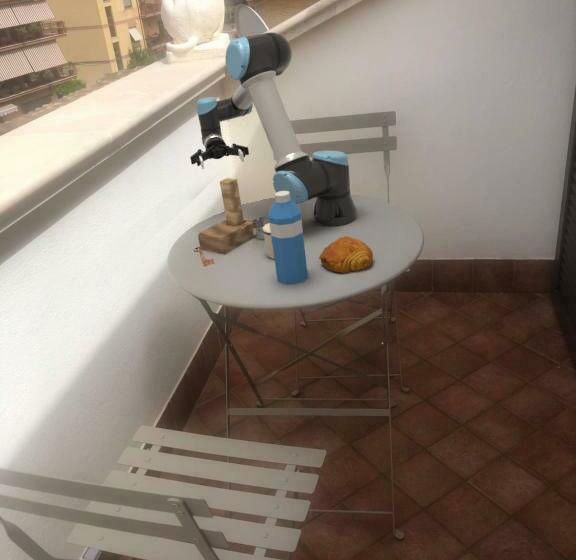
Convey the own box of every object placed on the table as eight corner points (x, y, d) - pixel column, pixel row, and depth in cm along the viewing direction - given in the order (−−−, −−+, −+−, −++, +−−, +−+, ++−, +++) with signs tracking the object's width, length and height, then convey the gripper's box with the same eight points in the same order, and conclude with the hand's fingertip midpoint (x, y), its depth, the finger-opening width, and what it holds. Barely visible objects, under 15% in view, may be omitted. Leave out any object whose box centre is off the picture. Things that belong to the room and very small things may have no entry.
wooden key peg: (237, 233, 197) (228, 177, 188) (246, 235, 195) (237, 178, 186) (229, 238, 195) (219, 181, 185) (238, 240, 192) (228, 182, 183)
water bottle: (284, 287, 159) (272, 202, 147) (271, 275, 166) (259, 192, 155) (314, 278, 161) (305, 193, 150) (300, 266, 169) (291, 185, 158)
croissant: (355, 254, 177) (352, 229, 175) (381, 266, 163) (379, 239, 161) (313, 266, 173) (309, 240, 170) (336, 279, 159) (333, 251, 156)
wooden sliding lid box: (232, 230, 200) (230, 216, 198) (256, 235, 194) (254, 220, 191) (200, 248, 189) (197, 233, 187) (224, 254, 183) (221, 238, 181)
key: (217, 265, 178) (210, 247, 191) (217, 262, 178) (210, 244, 191) (199, 268, 177) (193, 249, 190) (198, 265, 176) (193, 247, 189)
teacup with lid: (297, 257, 175) (292, 221, 170) (267, 261, 175) (262, 226, 169) (291, 241, 186) (287, 208, 180) (263, 246, 185) (258, 212, 180)
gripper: (250, 151, 214) (260, 165, 196) (183, 162, 211) (187, 178, 192) (247, 130, 211) (257, 144, 192) (179, 142, 207) (183, 156, 189)
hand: (222, 161), depth 192 cm, fingers open, 13 cm apart
